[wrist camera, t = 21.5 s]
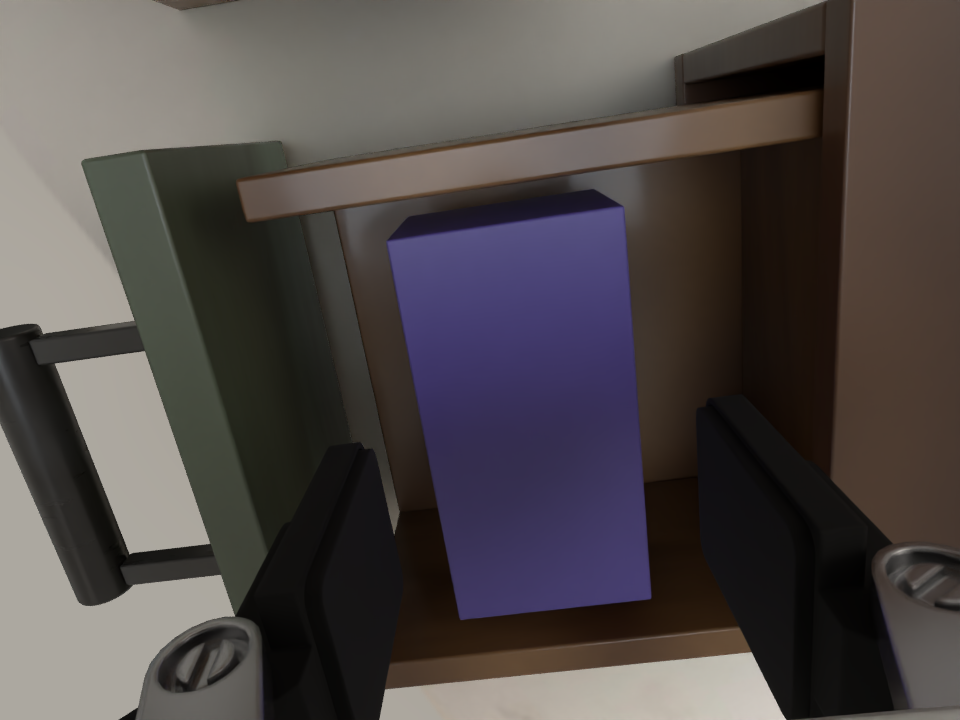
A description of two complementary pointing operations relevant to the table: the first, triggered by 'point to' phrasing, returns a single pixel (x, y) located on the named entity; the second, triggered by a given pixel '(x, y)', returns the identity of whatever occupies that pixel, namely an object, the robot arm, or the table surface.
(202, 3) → the stand
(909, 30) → the cabinet
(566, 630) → the drawer
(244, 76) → the table surface
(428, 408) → the snack box
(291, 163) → the table surface
